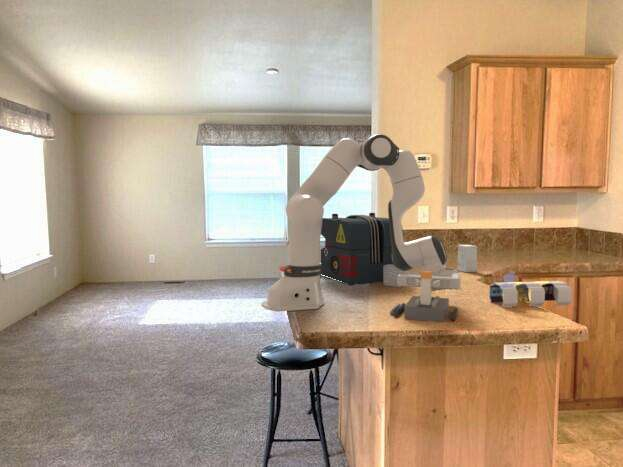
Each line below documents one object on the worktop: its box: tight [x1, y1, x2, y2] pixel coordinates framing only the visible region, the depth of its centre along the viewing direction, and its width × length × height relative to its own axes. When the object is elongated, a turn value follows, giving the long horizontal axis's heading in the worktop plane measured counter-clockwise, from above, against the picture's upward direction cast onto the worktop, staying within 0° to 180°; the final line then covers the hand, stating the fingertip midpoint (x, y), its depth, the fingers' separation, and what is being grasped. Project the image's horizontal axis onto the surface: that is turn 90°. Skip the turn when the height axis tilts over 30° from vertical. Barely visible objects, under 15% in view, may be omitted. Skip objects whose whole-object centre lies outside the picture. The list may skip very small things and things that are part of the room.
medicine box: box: [382, 264, 405, 288], centre depth 208 cm, size 8×4×9 cm, turn 47°
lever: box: [419, 271, 433, 305], centre depth 155 cm, size 3×3×10 cm
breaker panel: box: [403, 294, 450, 323], centre depth 159 cm, size 16×12×5 cm
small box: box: [456, 244, 478, 273], centre depth 245 cm, size 8×6×13 cm
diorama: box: [488, 270, 573, 308], centre depth 173 cm, size 25×10×13 cm, turn 97°
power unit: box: [320, 212, 404, 286], centre depth 226 cm, size 28×28×30 cm
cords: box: [389, 302, 459, 321], centre depth 159 cm, size 16×21×1 cm
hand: (425, 284), depth 154 cm, fingers closed on lever, 3 cm apart
